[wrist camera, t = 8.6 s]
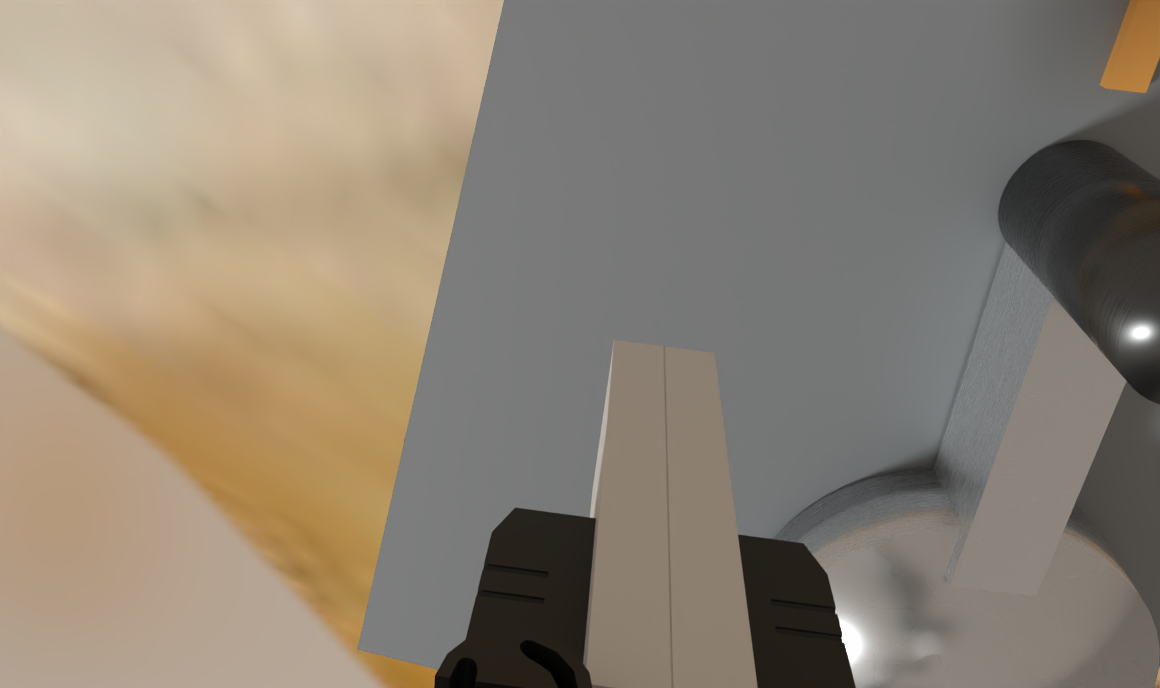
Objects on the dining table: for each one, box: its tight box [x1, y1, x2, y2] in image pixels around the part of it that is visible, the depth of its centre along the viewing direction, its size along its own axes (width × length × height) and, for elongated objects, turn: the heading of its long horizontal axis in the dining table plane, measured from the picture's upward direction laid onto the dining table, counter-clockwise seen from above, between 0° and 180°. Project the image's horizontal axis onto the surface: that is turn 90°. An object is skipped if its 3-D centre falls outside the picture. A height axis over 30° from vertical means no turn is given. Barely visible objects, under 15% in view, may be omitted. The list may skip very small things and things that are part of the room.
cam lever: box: [773, 140, 1160, 688], centre depth 21 cm, size 18×10×6 cm, turn 175°
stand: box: [358, 0, 1160, 670], centre depth 24 cm, size 25×22×2 cm
